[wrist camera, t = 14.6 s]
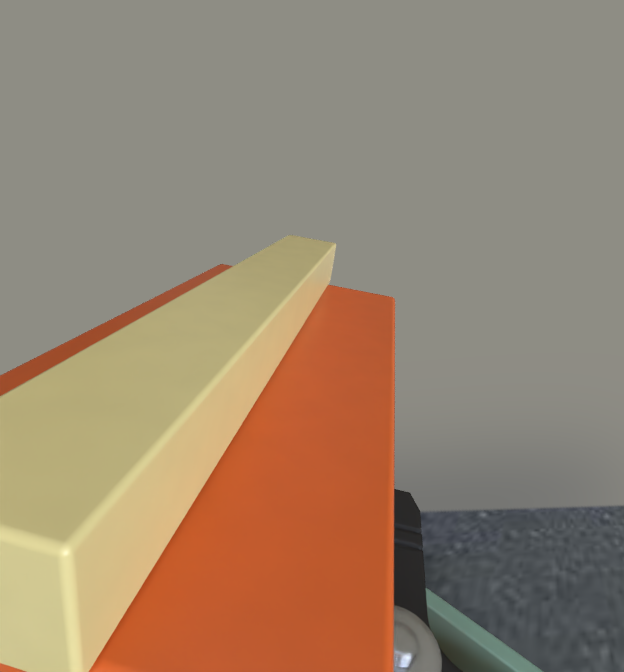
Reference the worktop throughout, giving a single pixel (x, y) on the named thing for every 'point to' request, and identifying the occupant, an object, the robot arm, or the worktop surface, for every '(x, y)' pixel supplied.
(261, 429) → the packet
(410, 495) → the robot arm
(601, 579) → the worktop surface
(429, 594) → the bin
